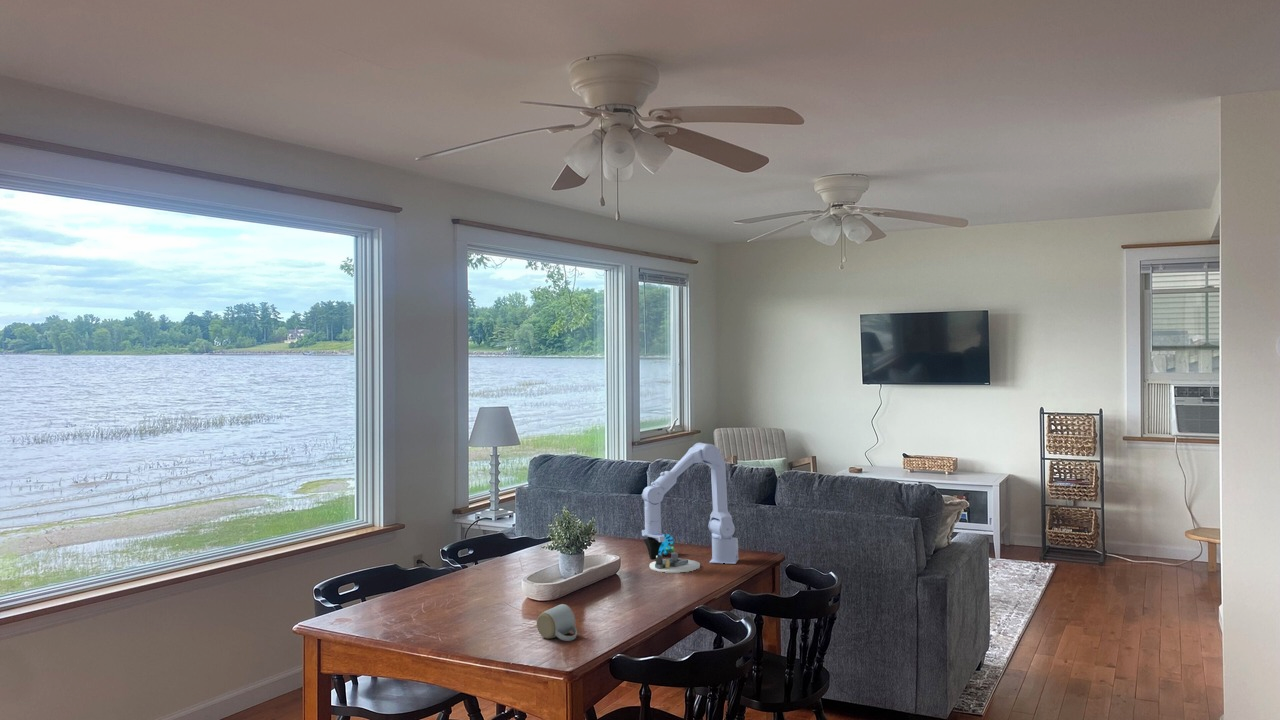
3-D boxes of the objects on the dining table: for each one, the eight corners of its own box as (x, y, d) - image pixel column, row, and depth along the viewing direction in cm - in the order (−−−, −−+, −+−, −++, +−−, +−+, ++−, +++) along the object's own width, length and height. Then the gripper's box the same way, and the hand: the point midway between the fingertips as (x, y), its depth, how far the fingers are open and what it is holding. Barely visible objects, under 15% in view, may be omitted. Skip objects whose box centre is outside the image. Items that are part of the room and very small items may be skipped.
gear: (644, 550, 332) (659, 529, 336) (651, 559, 335) (666, 538, 339) (664, 558, 323) (679, 537, 327) (671, 568, 326) (686, 546, 331)
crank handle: (674, 560, 315) (673, 548, 315) (688, 563, 310) (688, 551, 310) (649, 566, 306) (649, 554, 306) (664, 569, 301) (663, 557, 301)
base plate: (704, 562, 316) (704, 548, 316) (694, 574, 299) (694, 559, 299) (656, 560, 321) (656, 547, 321) (643, 572, 304) (643, 557, 304)
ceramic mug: (534, 637, 232) (534, 608, 232) (556, 629, 239) (555, 601, 239) (563, 645, 226) (563, 615, 225) (584, 637, 232) (584, 608, 232)
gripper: (633, 518, 312) (634, 556, 312) (651, 524, 299) (652, 564, 299) (651, 516, 315) (652, 554, 315) (669, 522, 302) (670, 562, 302)
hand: (653, 559), depth 307 cm, fingers closed
